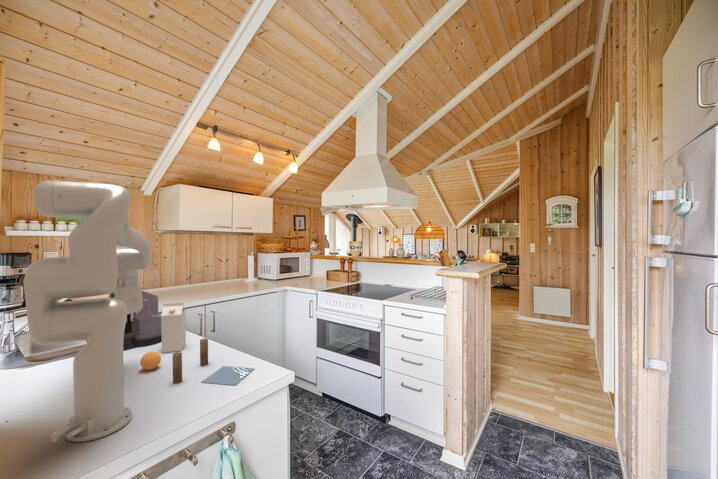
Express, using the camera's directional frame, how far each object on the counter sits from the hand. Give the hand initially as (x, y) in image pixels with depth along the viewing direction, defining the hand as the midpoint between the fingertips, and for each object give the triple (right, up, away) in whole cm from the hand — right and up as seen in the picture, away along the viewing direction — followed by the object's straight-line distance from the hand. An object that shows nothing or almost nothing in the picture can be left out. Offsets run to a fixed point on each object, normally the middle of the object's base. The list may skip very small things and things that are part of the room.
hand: (125, 332), depth 111 cm
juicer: (-14, -12, +22) cm, 29 cm away
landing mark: (+40, -12, -7) cm, 42 cm away
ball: (+10, -9, -2) cm, 14 cm away
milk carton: (+7, -12, +17) cm, 22 cm away
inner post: (+25, -13, -11) cm, 30 cm away
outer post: (+27, -12, +2) cm, 30 cm away
